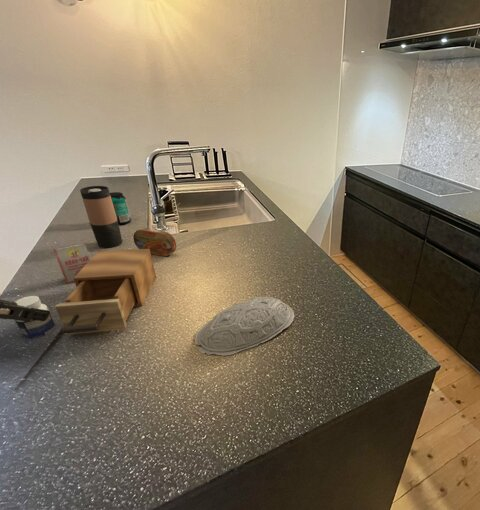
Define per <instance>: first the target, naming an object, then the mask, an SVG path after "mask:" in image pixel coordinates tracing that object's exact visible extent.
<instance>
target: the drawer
mask: <svg viewBox="0 0 480 510" xmlns="http://www.w3.org/2000/svg"><path fill="white" fill-rule="evenodd" d="M136 300H137V298H136V294H135V291H134V287H133V283H132V280H131V277H130V278H115V279H99V280H84V281H82V282H81V283H80V284H79V285H78V286H77V287H75V288H74V290H73V291H72V292H71V293H70V294H69V295H68V296H67V298H65V302H59V303H57V304H56V305H55V310H56V312H57V314H58V317H59V319H60V321H61V324H62V326H63V327H62V329H61V333H62V334H64V335H67V336H68V335H69V336H70V335H79V334H87V333H88V334H89V333H97V332H107V331H115V330H116V331H117V330H126V329H127V327H128V323H127V319H128V318H129V315H130V314H131V312H132V310H133V308H134V307H135V306H134V304H135V302H136ZM133 306H134V307H133Z"/></svg>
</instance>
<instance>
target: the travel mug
mask: <svg viewBox="0 0 480 510" xmlns="http://www.w3.org/2000/svg"><path fill="white" fill-rule="evenodd" d="M79 192H80V195H81V199H82V202H83V205H84V208H85V211H86V214H87V215H86V216H87V219H88V221H89V222H88V223H89V225H90V227H91V230H92V233H93V236H94V238H95V241H96V244H97V246H98V248H100V249H112V248H116V247H119V246H121V245H122V244H123V238H122V234H121V230H120V225H118V220H117V217H116V213H115V210H114V206H113V203H112V199H111V196H110V193H111V192H110V188H109V187H107V186H106V185H105V186H104V185H90V186H85V187H82V188H80V189H79Z"/></svg>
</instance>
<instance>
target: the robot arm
mask: <svg viewBox="0 0 480 510" xmlns="http://www.w3.org/2000/svg"><path fill="white" fill-rule="evenodd" d="M15 301H16V300H11V299H5V298H1V297H0V319H2V320H11V321H15V320H19V321H24V322H30V321H31V320H38V321H45V320H46V319H47V318H48V316H49V314H50V313H51V311H50V310H49V311H48V310H42V309H36V308H31V307H30V306H27V307H26V306H21V305H18V303H17V302H15ZM22 310H23V311H22ZM21 311H22V313H21ZM20 313H21V314H20ZM19 315H20V316H19Z"/></svg>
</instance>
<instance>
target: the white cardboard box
mask: <svg viewBox="0 0 480 510" xmlns="http://www.w3.org/2000/svg"><path fill="white" fill-rule="evenodd" d="M53 252H54V255H55V258H56V260H57V263H58V265H59V268H60V270H61V272H62V275H63V277H64V280H65V284H67V285H68V284H72V283H75V281H74V279H73V278H74V277H75V276H76V275H77V274H78V273H79V272H80V271H81V269H82V268H83V267H84V266H85V265H86V264H87V263H88V262H89V261H90V260H91V259H92V258H91V256H90V253H89V251H88V248H87V245H86V243H81V244H75V245H70V246H66V247H60V248H54V249H53Z"/></svg>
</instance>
